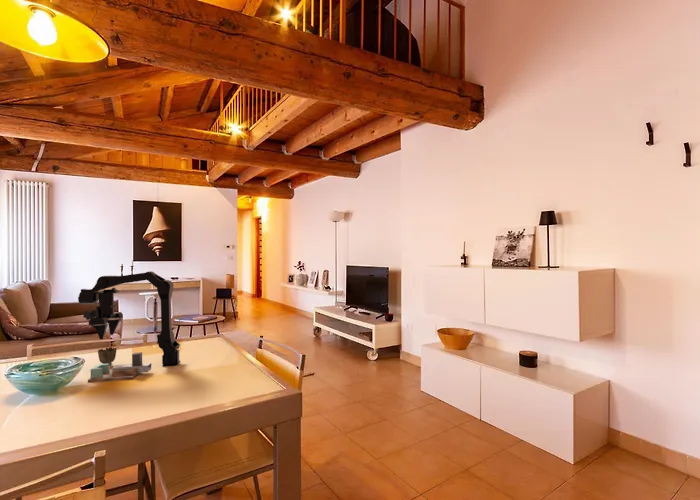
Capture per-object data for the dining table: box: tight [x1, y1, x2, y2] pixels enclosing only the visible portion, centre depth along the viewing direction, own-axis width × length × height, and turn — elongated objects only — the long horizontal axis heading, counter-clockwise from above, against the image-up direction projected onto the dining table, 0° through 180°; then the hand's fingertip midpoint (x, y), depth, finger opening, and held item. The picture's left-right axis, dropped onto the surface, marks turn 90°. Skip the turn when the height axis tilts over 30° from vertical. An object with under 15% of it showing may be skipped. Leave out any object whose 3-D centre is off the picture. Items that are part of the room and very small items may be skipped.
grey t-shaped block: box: [111, 352, 152, 374], centre depth 161 cm, size 14×4×8 cm, turn 101°
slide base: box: [87, 369, 141, 383], centre depth 160 cm, size 17×13×3 cm
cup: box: [97, 346, 118, 367], centre depth 175 cm, size 8×7×8 cm
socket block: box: [90, 363, 110, 378], centre depth 159 cm, size 4×8×4 cm, turn 11°
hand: (106, 337), depth 171 cm, fingers open, 9 cm apart
